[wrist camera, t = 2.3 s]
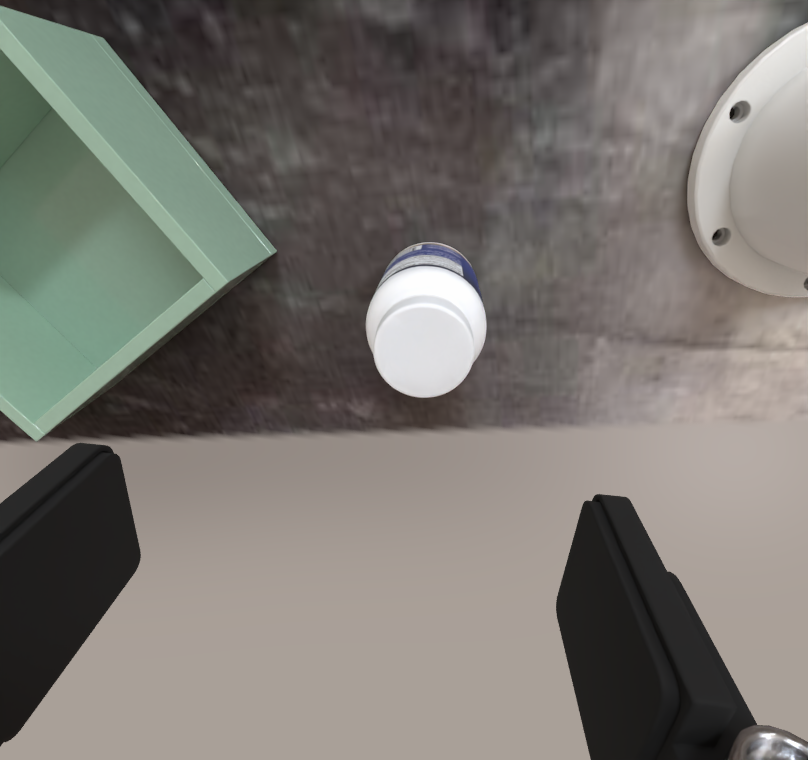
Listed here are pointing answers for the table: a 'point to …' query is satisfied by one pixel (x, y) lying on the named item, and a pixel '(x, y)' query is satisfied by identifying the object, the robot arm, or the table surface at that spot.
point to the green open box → (98, 224)
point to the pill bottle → (426, 320)
